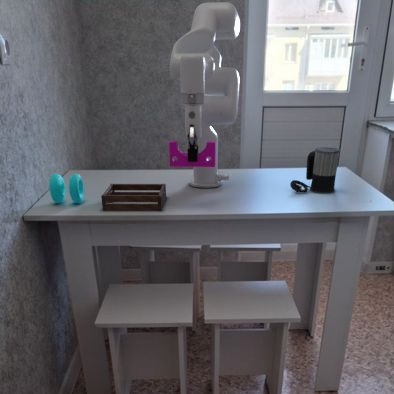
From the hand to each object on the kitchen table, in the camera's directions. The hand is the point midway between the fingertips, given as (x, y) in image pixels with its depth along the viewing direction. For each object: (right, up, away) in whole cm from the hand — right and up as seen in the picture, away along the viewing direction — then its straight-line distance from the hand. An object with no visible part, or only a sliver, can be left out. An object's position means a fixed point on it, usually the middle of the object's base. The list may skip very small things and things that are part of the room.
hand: (193, 159), depth 163 cm
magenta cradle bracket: (0, -2, +1) cm, 2 cm away
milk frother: (+45, -3, +23) cm, 51 cm away
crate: (-20, -12, +9) cm, 25 cm away
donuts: (-44, -12, +11) cm, 47 cm away
